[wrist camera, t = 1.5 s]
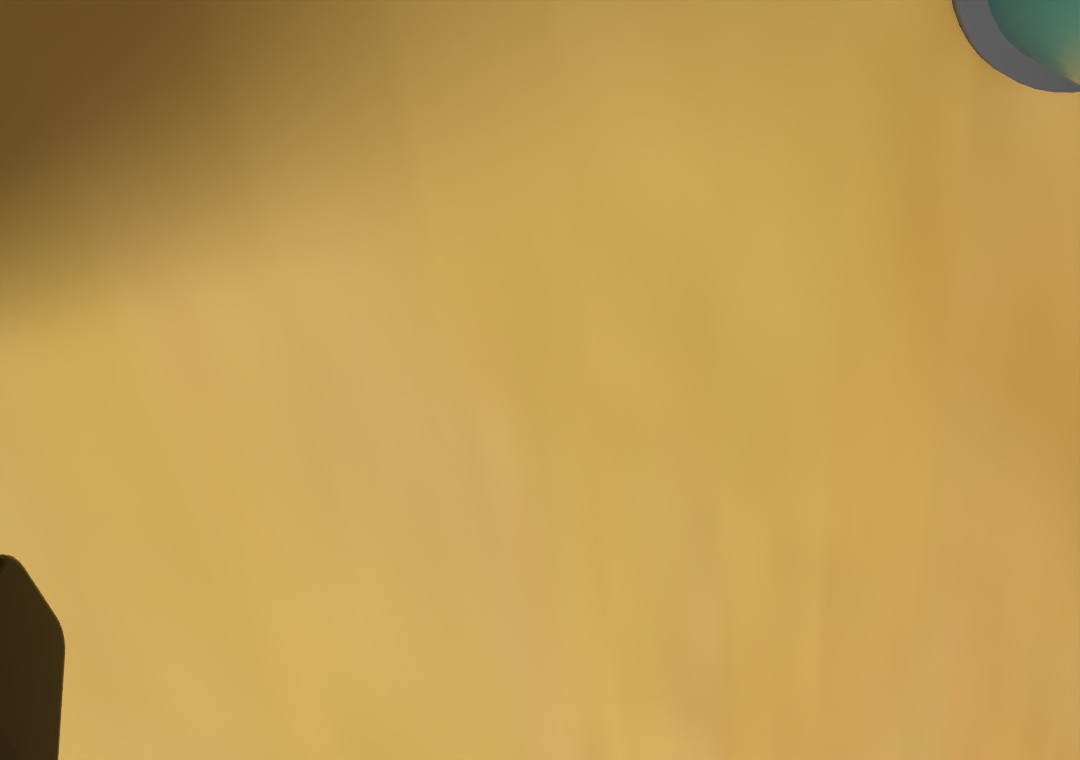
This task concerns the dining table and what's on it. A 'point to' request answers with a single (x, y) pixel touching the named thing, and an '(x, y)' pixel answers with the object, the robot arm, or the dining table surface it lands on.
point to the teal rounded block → (1043, 31)
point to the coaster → (1005, 49)
